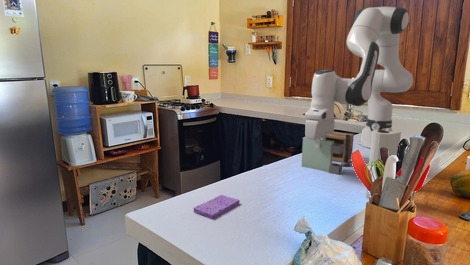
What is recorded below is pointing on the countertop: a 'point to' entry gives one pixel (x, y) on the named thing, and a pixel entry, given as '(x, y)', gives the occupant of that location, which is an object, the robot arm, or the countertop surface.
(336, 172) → the cabinet door
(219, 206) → the sponges
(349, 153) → the walnut cabinet
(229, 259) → the countertop surface
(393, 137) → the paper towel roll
